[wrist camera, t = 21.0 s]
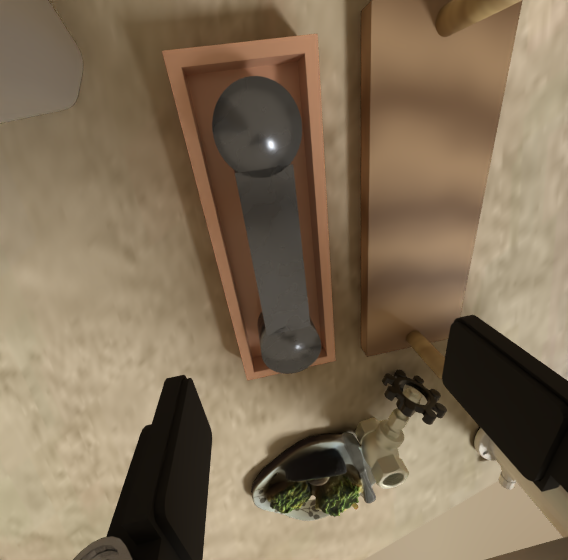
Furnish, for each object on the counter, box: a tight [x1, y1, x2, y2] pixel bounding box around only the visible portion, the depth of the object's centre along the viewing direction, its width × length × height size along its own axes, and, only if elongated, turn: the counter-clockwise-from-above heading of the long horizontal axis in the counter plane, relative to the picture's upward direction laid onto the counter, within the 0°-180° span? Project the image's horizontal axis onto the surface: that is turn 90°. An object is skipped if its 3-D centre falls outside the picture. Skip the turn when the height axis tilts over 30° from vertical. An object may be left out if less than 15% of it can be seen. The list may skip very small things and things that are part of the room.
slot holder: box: [162, 34, 336, 380], centre depth 22 cm, size 25×9×3 cm, turn 7°
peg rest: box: [361, 0, 522, 379], centre depth 22 cm, size 28×10×6 cm, turn 7°
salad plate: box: [251, 432, 376, 521], centre depth 38 cm, size 19×18×5 cm
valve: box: [355, 370, 447, 489], centre depth 32 cm, size 7×7×12 cm
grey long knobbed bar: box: [212, 76, 321, 374], centre depth 21 cm, size 21×5×4 cm, turn 7°
